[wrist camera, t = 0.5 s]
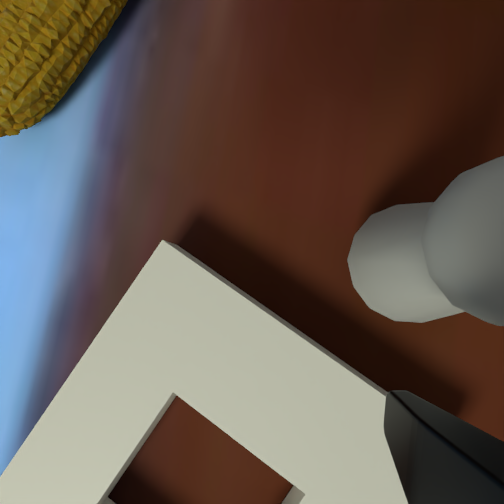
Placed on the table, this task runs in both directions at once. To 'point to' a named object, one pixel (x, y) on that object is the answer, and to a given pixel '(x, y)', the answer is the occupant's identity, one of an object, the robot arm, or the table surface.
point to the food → (46, 53)
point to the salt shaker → (437, 253)
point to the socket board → (207, 396)
